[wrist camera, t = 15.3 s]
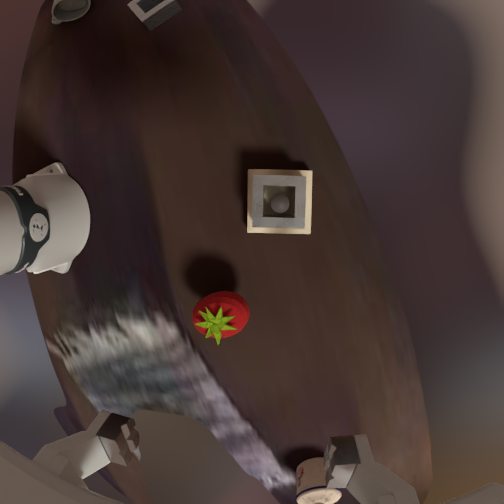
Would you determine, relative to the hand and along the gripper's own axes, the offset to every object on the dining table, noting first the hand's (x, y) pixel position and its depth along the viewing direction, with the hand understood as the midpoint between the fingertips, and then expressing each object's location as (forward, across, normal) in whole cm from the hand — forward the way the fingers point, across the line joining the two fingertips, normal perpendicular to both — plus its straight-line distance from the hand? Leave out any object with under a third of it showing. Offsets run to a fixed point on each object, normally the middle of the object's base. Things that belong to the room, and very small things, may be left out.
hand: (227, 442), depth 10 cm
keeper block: (+31, +2, +8) cm, 32 cm away
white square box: (+31, -17, +40) cm, 53 cm away
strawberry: (+31, -5, -6) cm, 32 cm away
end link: (+29, +2, +8) cm, 30 cm away
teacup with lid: (+31, +13, -47) cm, 58 cm away
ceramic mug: (+31, -36, +48) cm, 68 cm away
